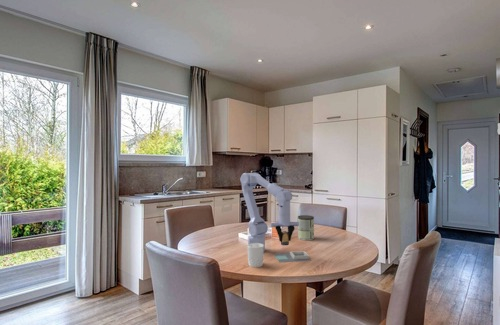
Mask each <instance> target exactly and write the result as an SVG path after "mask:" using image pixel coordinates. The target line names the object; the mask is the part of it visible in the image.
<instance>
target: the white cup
mask: <svg viewBox="0 0 500 325" xmlns="http://www.w3.org/2000/svg"><path fill="white" fill-rule="evenodd" d="M246 249H247V250H246V251H247V262H248V266H249V267H251V268H259V267H262V266H264V252H265V251H264V245H263V244H260V243H251V244H248V243H247V245H246Z"/></svg>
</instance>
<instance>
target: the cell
mask: <svg viewBox="0 0 500 325" xmlns="http://www.w3.org/2000/svg"><path fill="white" fill-rule="evenodd" d="M281 237H282V241H281V242H280V245H282V246H289V245H290V241H289V232H288V231H286V230H283V231H282V233H281Z"/></svg>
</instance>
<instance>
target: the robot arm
mask: <svg viewBox="0 0 500 325" xmlns="http://www.w3.org/2000/svg"><path fill="white" fill-rule="evenodd" d="M239 180H240V183H241V184H240V185H241V190H242V196H243V197H244V202H245V205H246V208H247V211H248V215H249V218H250V220H249V222H248V224H247V225H248V232H249V235H248V236H247V245H248V244H251V243H260V244H263V245H264V252H265V251H266V235H267V234H266V233H267V232H268V229H269V228H268V225H267V223H266V221H265V219H264V218H262V217H261V215H260V212H259V209H258V205H257V203H256V199H255V195H254V192H253V190H254V188H255V187H256V185H260V186H261V187H263V188H265V189H266V190H267V193H269V194H270V195H271V196H273V197H275V198H276V200H277V204H278V221H277V222H270V223H269V224H270V225H269V226H270V228H274V229H275V230H276V233H277V235H278V240H279V242H280V243H281V241H282V237H281V233H282V232H283V231H282V230H283V229H282V227H284V228H285V227H287V232H289V242H291V239H292V237H293V232H294V231H295V229H296V228H295V227H298V226H299V222H298V221H291V201H292V199H293V193H292V191H290V190H289V189H285V188H283V187H281V186H279V185H278V183H277V182H272V183H270V182H269V181H268V180H267V179H265V178H264V177H262V176H261V174H259V173H257V172H248V173H247V172H244V173H242V174H241V176H240V178H239Z"/></svg>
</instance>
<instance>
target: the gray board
mask: <svg viewBox="0 0 500 325" xmlns="http://www.w3.org/2000/svg"><path fill="white" fill-rule="evenodd" d="M273 255H274V257H275V259H276V260H278V263H293V262H308V261H309V262H310V261H312V260H311V258H310V255H309V254H308V253H307V252H306V251H305V250H299V251H298V250H297V251H289V252H281V253H280V252H278V253H277V252H276V253H273Z"/></svg>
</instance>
